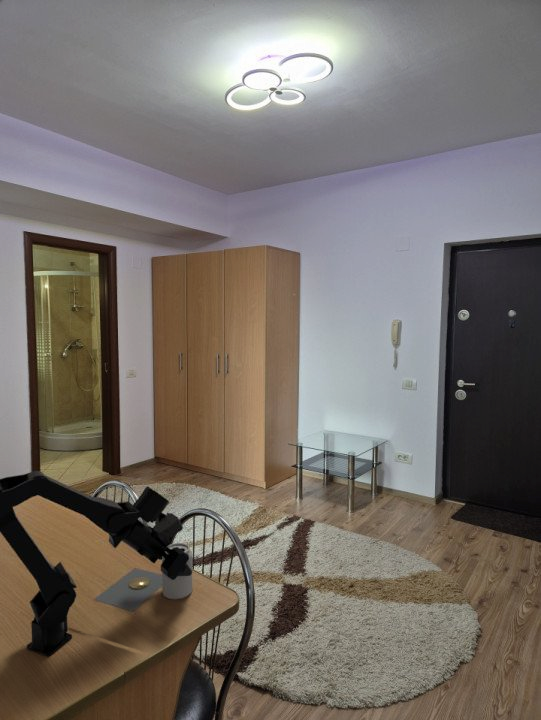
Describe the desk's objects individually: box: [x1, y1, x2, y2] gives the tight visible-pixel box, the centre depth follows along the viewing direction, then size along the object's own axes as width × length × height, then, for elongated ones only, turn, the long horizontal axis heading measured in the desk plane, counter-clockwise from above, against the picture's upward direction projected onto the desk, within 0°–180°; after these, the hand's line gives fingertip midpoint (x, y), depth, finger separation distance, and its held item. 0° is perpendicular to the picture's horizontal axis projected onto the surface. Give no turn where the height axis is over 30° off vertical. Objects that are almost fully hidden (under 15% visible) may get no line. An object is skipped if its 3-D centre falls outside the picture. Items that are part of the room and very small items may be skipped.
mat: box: [93, 567, 162, 612], centre depth 120 cm, size 16×12×1 cm
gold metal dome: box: [129, 577, 149, 589], centre depth 122 cm, size 5×5×1 cm
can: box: [161, 542, 194, 600], centre depth 119 cm, size 8×8×12 cm
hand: (182, 566), depth 119 cm, fingers open, 8 cm apart
